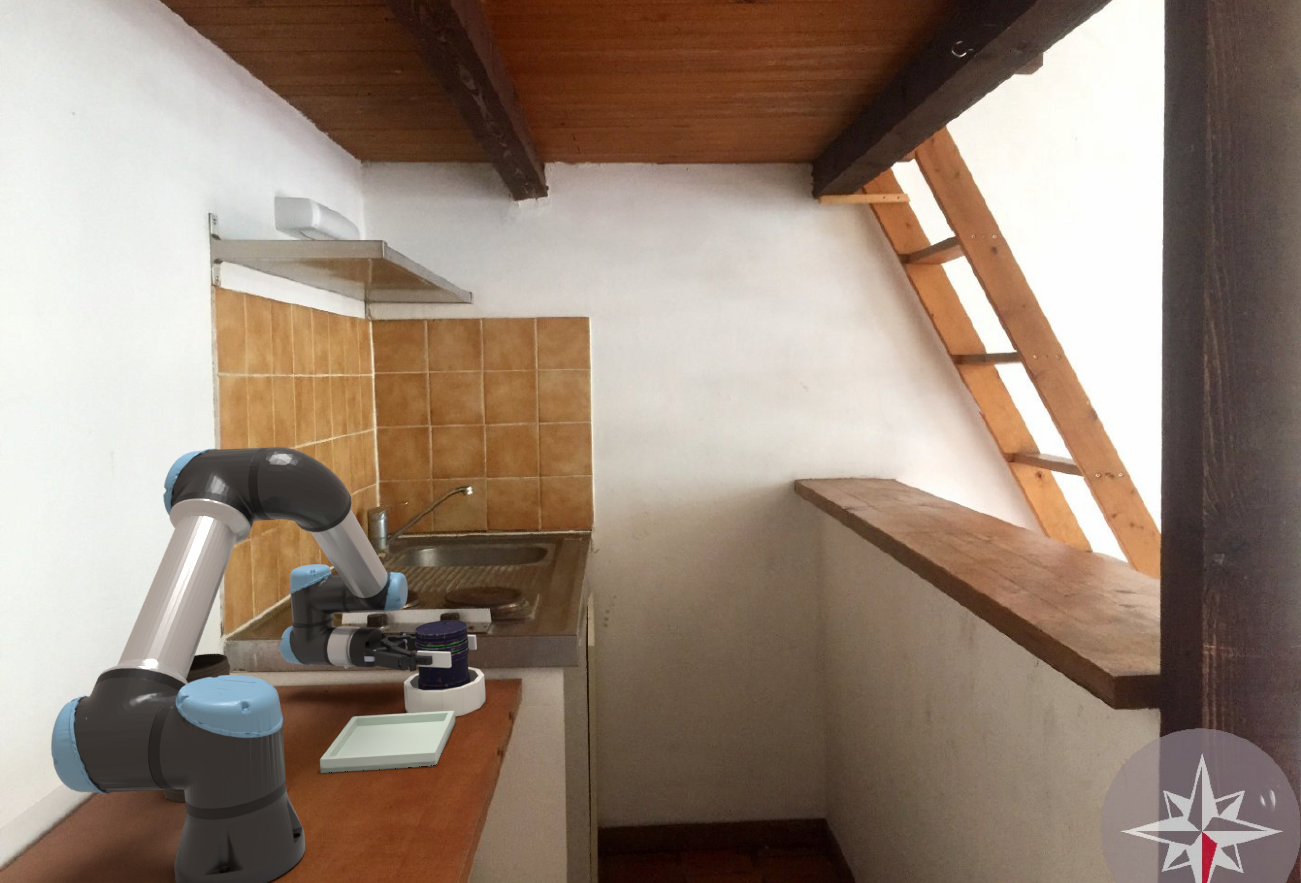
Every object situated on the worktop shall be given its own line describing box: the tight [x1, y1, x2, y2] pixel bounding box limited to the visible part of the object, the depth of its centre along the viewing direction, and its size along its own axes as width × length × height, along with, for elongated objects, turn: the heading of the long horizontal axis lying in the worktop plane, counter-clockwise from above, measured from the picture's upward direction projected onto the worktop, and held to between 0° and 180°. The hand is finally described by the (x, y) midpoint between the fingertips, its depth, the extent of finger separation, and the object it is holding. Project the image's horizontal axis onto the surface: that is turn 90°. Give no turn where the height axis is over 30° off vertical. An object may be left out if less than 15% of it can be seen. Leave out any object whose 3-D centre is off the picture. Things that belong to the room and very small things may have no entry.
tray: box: [319, 711, 456, 774], centre depth 147 cm, size 18×18×2 cm
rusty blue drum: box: [414, 619, 471, 690], centre depth 166 cm, size 10×10×15 cm
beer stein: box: [163, 653, 231, 803], centre depth 135 cm, size 15×11×20 cm
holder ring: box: [403, 666, 487, 718], centre depth 166 cm, size 14×14×5 cm
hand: (463, 650), depth 164 cm, fingers closed on rusty blue drum, 10 cm apart
